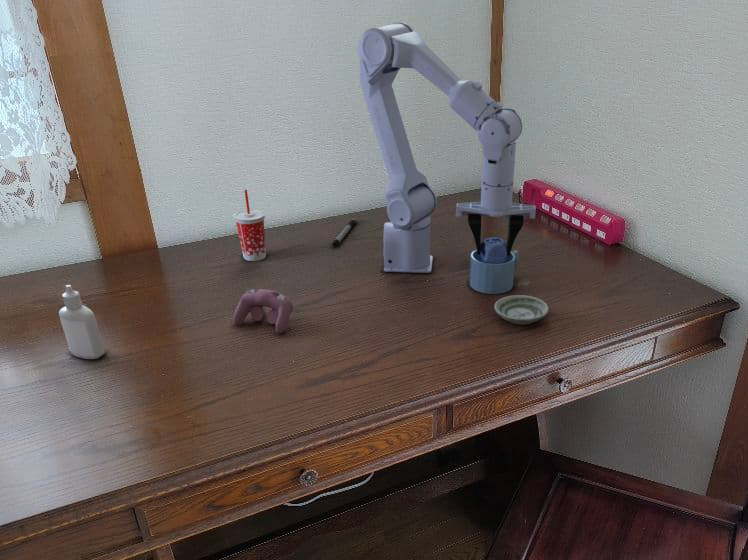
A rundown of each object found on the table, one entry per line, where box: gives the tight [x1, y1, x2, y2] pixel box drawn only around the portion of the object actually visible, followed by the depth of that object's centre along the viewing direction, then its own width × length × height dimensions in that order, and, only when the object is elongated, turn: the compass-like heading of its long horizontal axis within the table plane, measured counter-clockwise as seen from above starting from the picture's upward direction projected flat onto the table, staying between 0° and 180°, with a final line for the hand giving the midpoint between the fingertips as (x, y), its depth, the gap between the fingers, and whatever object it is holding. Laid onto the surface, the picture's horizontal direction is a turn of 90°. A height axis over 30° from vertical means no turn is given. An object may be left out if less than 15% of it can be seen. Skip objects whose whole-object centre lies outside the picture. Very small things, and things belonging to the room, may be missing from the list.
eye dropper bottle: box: [58, 284, 106, 360], centre depth 115 cm, size 4×6×12 cm
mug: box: [469, 249, 520, 295], centre depth 142 cm, size 11×8×6 cm
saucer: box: [493, 294, 550, 326], centre depth 131 cm, size 10×10×2 cm
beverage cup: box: [233, 189, 267, 262], centre depth 148 cm, size 6×6×14 cm
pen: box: [332, 217, 357, 247], centre depth 163 cm, size 1×16×1 cm, turn 170°
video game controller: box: [232, 288, 294, 335], centre depth 127 cm, size 10×5×7 cm, turn 71°
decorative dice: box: [481, 236, 507, 264], centre depth 139 cm, size 4×4×4 cm
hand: (493, 253), depth 140 cm, fingers closed on decorative dice, 5 cm apart
